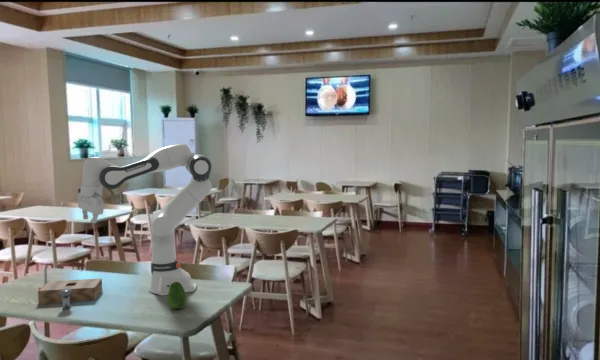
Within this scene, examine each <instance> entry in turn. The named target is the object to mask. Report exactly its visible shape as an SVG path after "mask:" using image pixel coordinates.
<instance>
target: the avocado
mask: <svg viewBox="0 0 600 360" xmlns="http://www.w3.org/2000/svg"><path fill="white" fill-rule="evenodd" d="M186 301H187V292H186V293H185V291H184V289H183V287H182V285H181V284H180V283H179V282H173V283H172V284H171V285H170V288H169V293H168V295H167V303H168V305H169V306H170V307H171V309H173V310H174V309H175V310H179V309H182V308H183V307H184V306H185V305H186V303H187V302H186Z"/></svg>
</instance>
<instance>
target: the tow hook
mask: <svg viewBox="0 0 600 360" xmlns="http://www.w3.org/2000/svg"><path fill="white" fill-rule="evenodd" d="M43 278H44V279H43V286H44V285H45V284H46V283H48V268H47V264H44V269H43ZM41 288H42V287H41V286H40V287H39V288H38V290H40V289H41Z"/></svg>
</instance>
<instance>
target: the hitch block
mask: <svg viewBox="0 0 600 360" xmlns="http://www.w3.org/2000/svg"><path fill="white" fill-rule="evenodd" d="M64 289H72V295H71V296H70V303H71V302H72V303H73V302H85V301H87V302H88V301H89V302H90V301H96V299H97V298H98V297H99V296H100V294H101V293H102V291H103V279H102V278H87V279H85V278H84V279H73V280H72V279H70V280H69V279H68V280H51V281H47V283H46V284H45V285H44V284H43V285H42V287H41V289H40V290H39V289H38V290H37V297H38V305H43V304H57V303H63V302H62V297H60V294H59V291H61V290H64Z"/></svg>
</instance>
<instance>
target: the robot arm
mask: <svg viewBox="0 0 600 360" xmlns="http://www.w3.org/2000/svg"><path fill="white" fill-rule="evenodd" d="M178 167H185V168H186V170H187V171H188V174H190V175H191V179H190V180H189V182H188V183H186V185H184V186H183V187H182V188H181V189H180V190H179V191H178V192H177V193H176V194H174V196H172V197H171V198H170V199H169V201H168V202H167V203H166V204H165V205H164V206H163V207H162V208H161V209H158V210H155V212H153V213H152V215H151V218H150V238H151V239H150V248H151V261H150V262H151V263H150V273H151V277H150V278H151V280H150V285H149V292H150V293H151V294H157V295H159V296H168V293H169V288H170V285H171V284H172V283H173V282H179V283H180V284H181V285H182V287H183V289H184V291H185V293H186V294H187V293H191V292H192V293H193V292H194V291H196V289H197V283H196V282H194V281H192V277H191V274H190V272H187V271H186V270H185V269H183V268H181V262H180V260H176V247H175V246H176V245H175V243H176V242H175V229H176V228H177V227H178V226H179V225H180V224H181V223H182V221H183V220H184V219H185V218H186V217H187V215H189V214H190V213H191V212H192V211H193V210H194V209H195V208H196V207H197V206H198V205H199V204H200V203H201V202H202V201H203V200H204V199H205V198H206V197H208V195H209V193H210V192H211V190H212V187H213V185H212V182H211V180H210V179H209V177H210V174H211V171H212V162H211V161H210V159H209V158H208V157H207V156H205V155H203V154H199V153H198V154H197V153H194V152H192V151H191V149H190V147H189V146H188V145H187V144H186V143H176V144H171V145H167V146H164V147H160V148H158V149H156V150H154V151H152V152H150V153H149V154H148V155H147V156H146V157H144V158H143V159H141V160H139V161H136V162H133V163H130V164H127V165H123V166H119V165H117V164H113V163H111V162H109V161H108V160H106V159H105V158H104V157H102V156H91V157H87V158H86V159H85V160H84V162H83V166H82V181H81V186H80V187H78V188H77V194H78V195H77V207H78V208H79V209H80V210H81V212H82V215H83V216H82V219H83V220H89V215H88V213H90V214H92V218H91V222H90V223H92V224H97V221H98V218H99V216H100V215H103V214H104V199H103V197H102V196H103V188H105V189H107V190H115V189H117V188H119V187H121V186H122V185H123V184H124V183H125V182H126V181H129V180H132V179H134V178H137V177H140V176H144V175H145V174H151V173H160V172H166V171H169V170H172V169H176V168H178Z"/></svg>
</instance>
